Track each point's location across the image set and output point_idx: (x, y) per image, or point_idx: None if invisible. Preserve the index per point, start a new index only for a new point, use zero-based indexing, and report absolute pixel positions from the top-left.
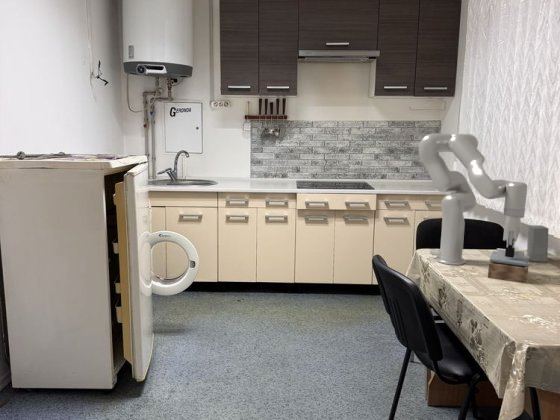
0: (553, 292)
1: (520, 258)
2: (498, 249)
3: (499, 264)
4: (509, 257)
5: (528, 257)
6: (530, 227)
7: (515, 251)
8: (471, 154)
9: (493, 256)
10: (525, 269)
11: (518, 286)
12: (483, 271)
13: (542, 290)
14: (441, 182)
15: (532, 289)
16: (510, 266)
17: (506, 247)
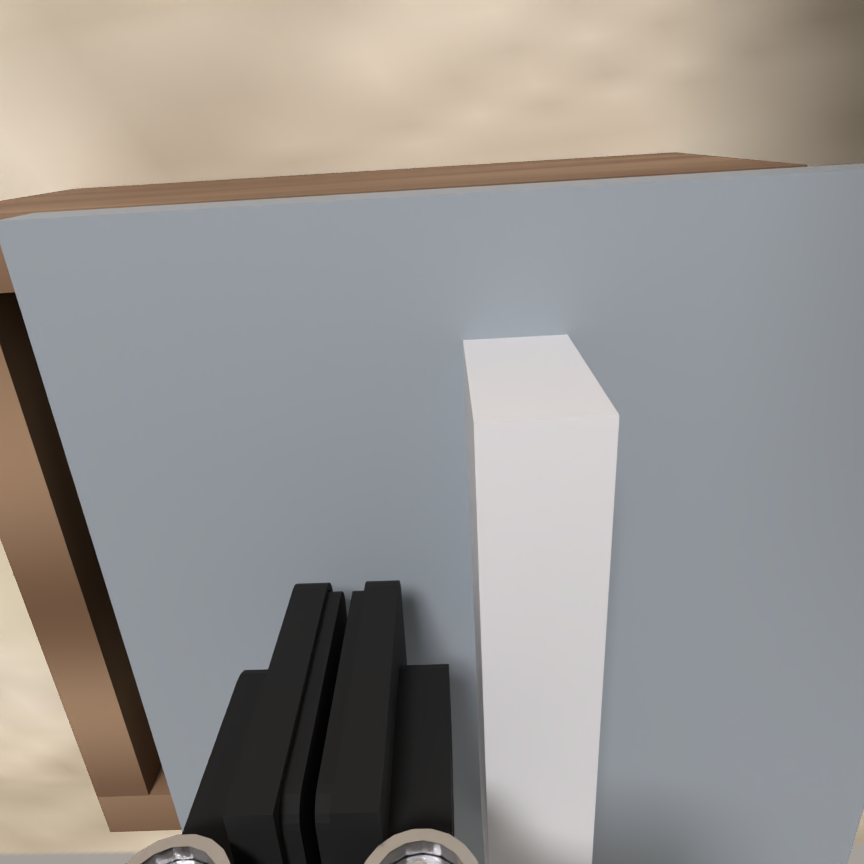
0: (85, 841)
1: (478, 788)
2: (474, 466)
3: (10, 441)
4: (473, 617)
5: (695, 861)
6: None
7: (491, 852)
8: None
9: (362, 275)
10: (107, 790)
11: (9, 589)
12: (429, 50)
13: (69, 775)
14: None
15: (21, 706)
16: (40, 623)
17: (156, 842)
